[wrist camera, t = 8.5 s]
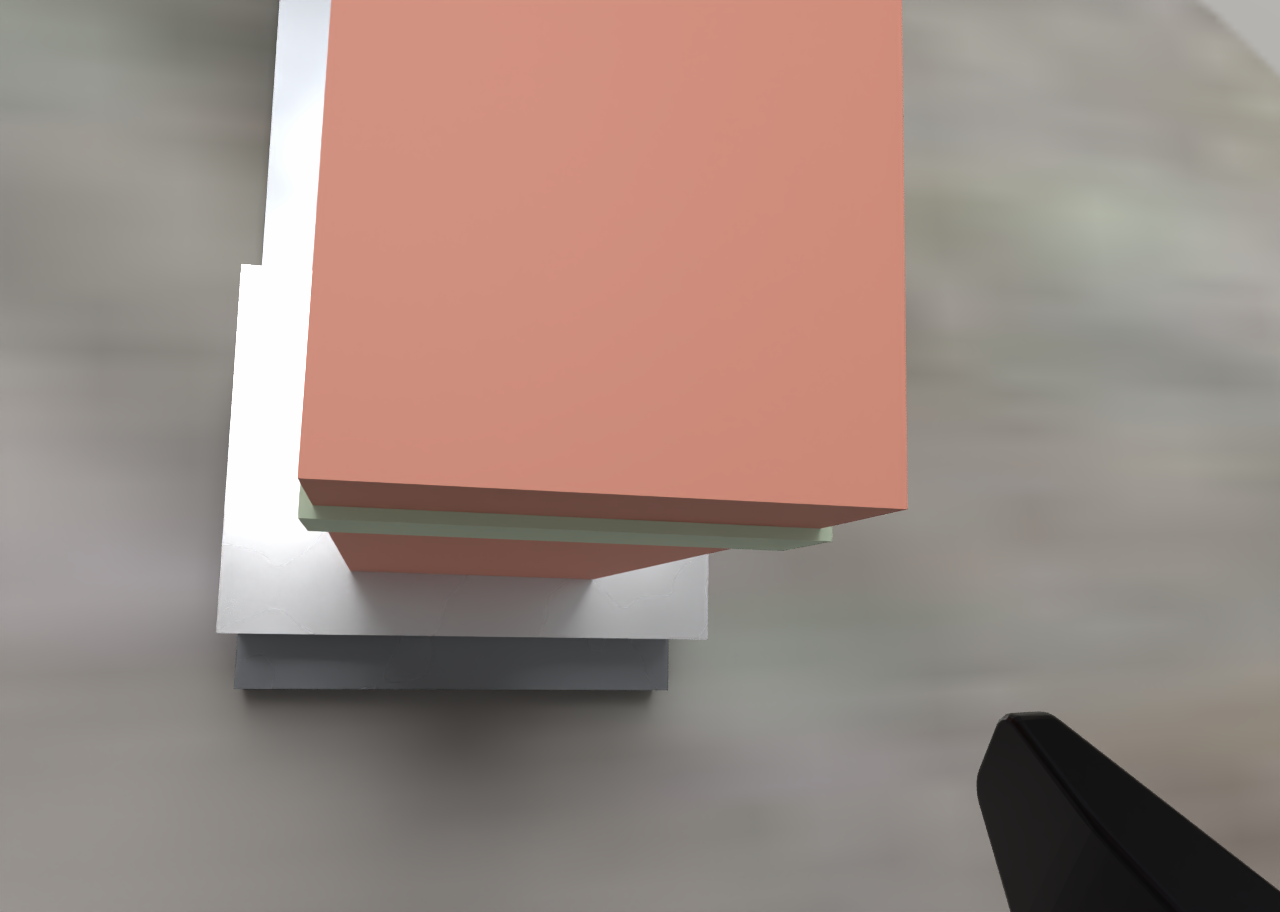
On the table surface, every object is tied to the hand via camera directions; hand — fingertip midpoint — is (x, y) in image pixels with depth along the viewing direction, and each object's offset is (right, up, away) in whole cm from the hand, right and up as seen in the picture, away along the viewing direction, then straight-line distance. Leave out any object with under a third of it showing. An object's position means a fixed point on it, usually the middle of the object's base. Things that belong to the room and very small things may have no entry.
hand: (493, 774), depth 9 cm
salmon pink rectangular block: (-1, +3, +10) cm, 10 cm away
